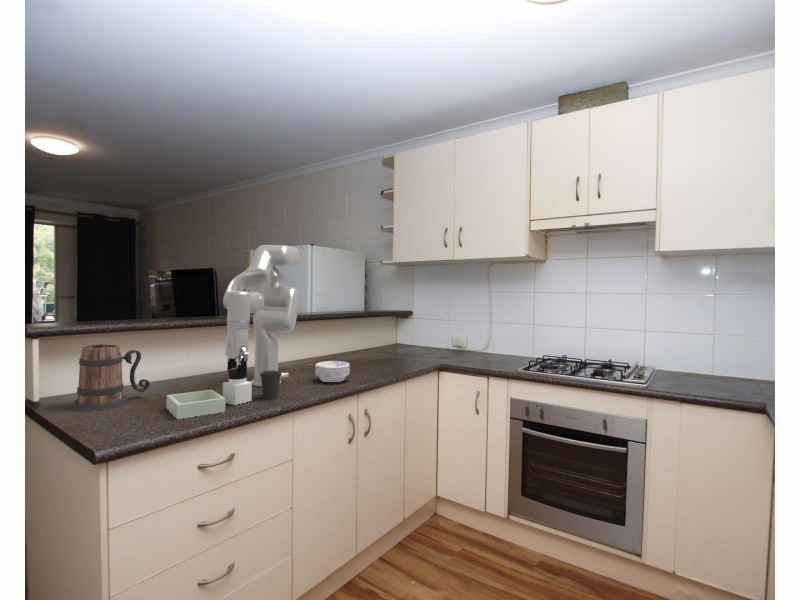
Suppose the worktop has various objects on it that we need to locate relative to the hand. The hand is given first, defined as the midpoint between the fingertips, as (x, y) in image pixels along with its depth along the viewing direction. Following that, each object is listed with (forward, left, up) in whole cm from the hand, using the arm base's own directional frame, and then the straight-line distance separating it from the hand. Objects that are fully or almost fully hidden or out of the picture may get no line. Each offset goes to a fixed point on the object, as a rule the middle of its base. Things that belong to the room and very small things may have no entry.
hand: (236, 374), depth 152 cm
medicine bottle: (-1, -1, -10) cm, 10 cm away
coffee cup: (-13, 0, -10) cm, 16 cm away
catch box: (+14, +2, -10) cm, 17 cm away
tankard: (+34, -23, -10) cm, 43 cm away
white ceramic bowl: (-47, -12, -10) cm, 49 cm away
